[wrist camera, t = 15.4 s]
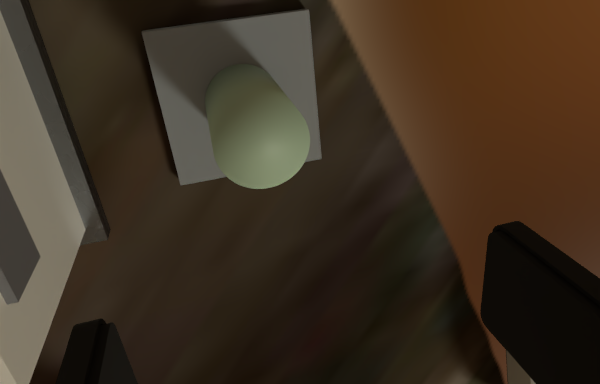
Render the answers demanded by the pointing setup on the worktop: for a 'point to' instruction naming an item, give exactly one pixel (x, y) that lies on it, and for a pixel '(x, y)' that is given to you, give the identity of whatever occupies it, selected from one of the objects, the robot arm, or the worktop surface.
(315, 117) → the slate mat
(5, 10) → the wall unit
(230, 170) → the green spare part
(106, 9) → the worktop surface
